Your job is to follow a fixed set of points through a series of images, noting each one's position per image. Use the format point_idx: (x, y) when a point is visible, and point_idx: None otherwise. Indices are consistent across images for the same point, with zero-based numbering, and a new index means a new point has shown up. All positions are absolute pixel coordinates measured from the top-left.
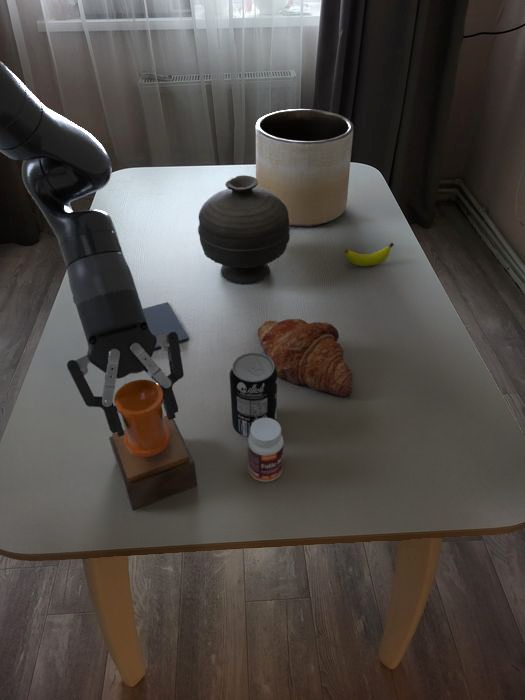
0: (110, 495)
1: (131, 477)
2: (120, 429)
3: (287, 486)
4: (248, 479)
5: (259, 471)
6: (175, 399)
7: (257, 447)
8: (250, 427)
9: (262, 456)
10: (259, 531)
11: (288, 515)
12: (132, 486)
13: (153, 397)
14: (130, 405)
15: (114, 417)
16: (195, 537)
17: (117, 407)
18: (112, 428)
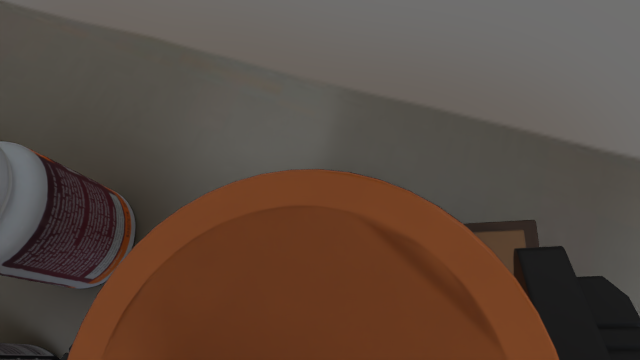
0: None
1: (506, 230)
2: (541, 262)
3: (79, 162)
4: (150, 223)
5: (98, 186)
6: (65, 356)
7: (19, 167)
8: (17, 357)
9: (36, 153)
10: (203, 68)
11: (124, 86)
12: (507, 221)
13: (162, 332)
14: (402, 319)
15: (589, 341)
16: (355, 100)
17: (554, 348)
18: (609, 299)
